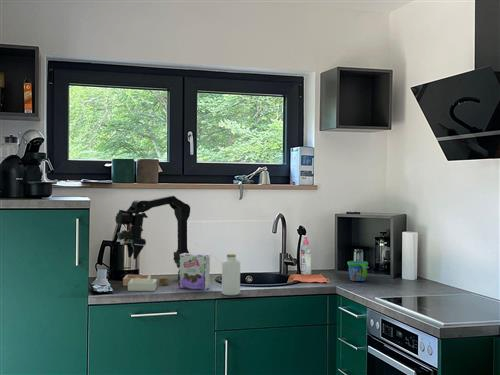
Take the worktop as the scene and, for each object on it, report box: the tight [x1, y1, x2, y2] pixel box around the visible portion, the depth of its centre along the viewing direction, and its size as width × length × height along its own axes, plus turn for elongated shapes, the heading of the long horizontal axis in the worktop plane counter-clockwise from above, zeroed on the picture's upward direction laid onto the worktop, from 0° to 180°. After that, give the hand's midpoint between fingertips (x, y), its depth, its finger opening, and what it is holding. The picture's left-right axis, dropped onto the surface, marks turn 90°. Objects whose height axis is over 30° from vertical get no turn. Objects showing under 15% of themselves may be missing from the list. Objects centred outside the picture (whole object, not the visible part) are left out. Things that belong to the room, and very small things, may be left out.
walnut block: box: [158, 276, 169, 286], centre depth 295 cm, size 4×4×4 cm
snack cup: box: [347, 260, 369, 282], centre depth 317 cm, size 16×10×10 cm
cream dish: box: [127, 278, 158, 293], centre depth 283 cm, size 12×12×4 cm
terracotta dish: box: [122, 274, 152, 287], centre depth 296 cm, size 12×12×4 cm
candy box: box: [178, 252, 211, 291], centre depth 289 cm, size 14×6×16 cm, turn 70°
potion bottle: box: [221, 253, 241, 296], centre depth 275 cm, size 8×8×18 cm
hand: (132, 258), depth 291 cm, fingers open, 9 cm apart
